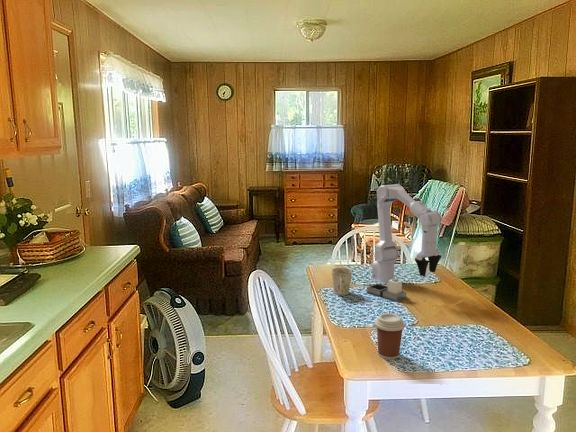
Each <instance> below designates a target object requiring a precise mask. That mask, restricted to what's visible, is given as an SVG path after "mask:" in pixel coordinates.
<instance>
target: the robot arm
mask: <svg viewBox="0 0 576 432" xmlns="http://www.w3.org/2000/svg"><path fill="white" fill-rule="evenodd" d="M376 198H377V199H376V202H377V203H376V205H377V206H376V207H377V218H378V219H377V220H378V232H379V235H378V236H379V241H378V242H377V243H376V245H375V246H374V247H375V249H374V259H375V260H374V261H373V263H372V267H371V269H372V270H371V271H372V272H371V278H370V281H375V282H379V283H383V284H386V285H388V281H389V280H391V279H394V278H395V263H396V261H397V260H398V259H399V256H400V255H399V250H398V247H397V243H396V242H394V240H393V235H392V234H393V233H392V218H391V207H390V206H391V205H392V203H394V202H395V201H397V200H398V201H399V202H401V203H403V204H404V205H406V206H407V207H408V208H409V211H410V214H412V215H414V216H415V217H416V218H417V219H418V220H419V223H420V226H421V230H422V231H421V250H420V252H419V253H418V254H416V257H414V261H415V263H416V266H417V268H418V272H419V276H421V277H425V276H426V274H427V268H428V270H429V272H430V273H436V271H437V267H438V264H439V262H440V260H441V259H442V255H441V254H440V253H441V249H439V248H437V243H438V227H439V225H440V224H441V222H442V216H441V213H440V212H439V211H438V210H437V211H436V210H432V209H431V208H429V207H427V205H425V204H424V202H423V201H421V200H420V201H419V200H415V199H414V198H413V197H411V195H409V193H407V192H406V191H405V188H404V187H403V186H402V185H401V184H399V183H395V184H381V185H380V186H379V187H378V188H377V189H376ZM427 259H428V260H427Z"/></svg>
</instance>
